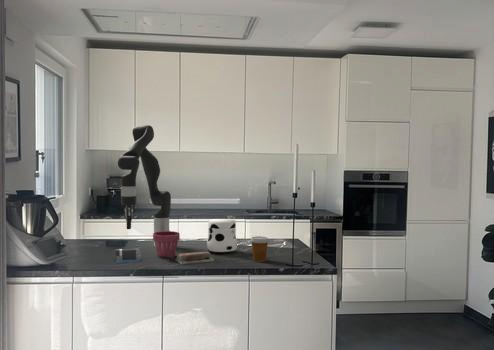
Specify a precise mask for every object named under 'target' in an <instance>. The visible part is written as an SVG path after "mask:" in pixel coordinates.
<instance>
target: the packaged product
mask: <svg viewBox="0 0 494 350" xmlns="http://www.w3.org/2000/svg"><path fill="white" fill-rule="evenodd" d="M214 261H215V258H212V255H211V252H210V251H198V252H197V251H195V252H184V253H182V252H181V253H178V254H177V255H176V259H175V262H177V263H178V264H180V265H190V264H192V265H193V264H202V263H203V264H204V263H211V262H214Z"/></svg>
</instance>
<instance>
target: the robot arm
mask: <svg viewBox="0 0 494 350" xmlns="http://www.w3.org/2000/svg"><path fill="white" fill-rule="evenodd" d="M131 131H132V137H133V140H134V142H132V143H131V145H130V146H129V147H128V149H127V151H125V152H124V153H122V154H121V155H120V157H118V161H117V166H118V168H119V169H120V170H122V171H130V172H129V173H128V174H127V173H126V174H123V175H121V190H120V199H121V200H120V204H121V205H122V206H125V207H124V217H125V222H126V229H127V230H132V221H133V212H134V208H133V207H132V206H135V205H137V174H138V170H139V167H140V160H141V164H142V165H141V166H142V168H143V171H144V174H145V177H146V182H147V186H148V190H149V197H150V200H151V201H150V202H151V204H152V205H153V206H155V207H160V210H158V211H156V212H154V213H153V233H155V232H160V231H171V230H170V214H171V203H172V197H171V193H170V191H168V190H159V188H158V180H159V178H160V176H161V167H160V163H159V160H158V158H157V157H156V156H155V155H154V154H153V153H152V152H151V151H150V150H149V149H147V146H148V145H150V143H151V142H152V141H153V140H154V138H155V131H154V128H153V127H152V125H148V124H145V125H138V126H134V127H132V130H131ZM153 246H154V247H155V248H156V246H155V241H153Z"/></svg>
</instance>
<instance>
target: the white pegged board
mask: <svg viewBox="0 0 494 350" xmlns="http://www.w3.org/2000/svg"><path fill="white" fill-rule="evenodd" d="M139 248H140V247H139ZM139 248H138V247H137V248H135V249H136V260H122V256H117V260H116V265H125V264H128V263H129V262H133V264H141V263H142V262H141V261H142V254H141V252H140V249H139ZM116 250H117V248H116V249H115V251H116Z"/></svg>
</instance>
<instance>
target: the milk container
mask: <svg viewBox="0 0 494 350" xmlns="http://www.w3.org/2000/svg"><path fill="white" fill-rule="evenodd" d="M207 224H208V229H207V231H208V232H207V233H208V237H207V239H206V248H207V250H208V251H207V252H209V253H214V254H230V253H233V252H235V251H237V247H238V240H237V236H236V233H237V227H236V225H237V223H236V220H235V219H230V218H229V219H228V218H214V219H209V220H208V223H207Z"/></svg>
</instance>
